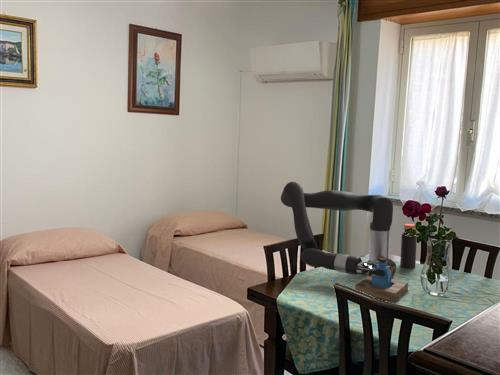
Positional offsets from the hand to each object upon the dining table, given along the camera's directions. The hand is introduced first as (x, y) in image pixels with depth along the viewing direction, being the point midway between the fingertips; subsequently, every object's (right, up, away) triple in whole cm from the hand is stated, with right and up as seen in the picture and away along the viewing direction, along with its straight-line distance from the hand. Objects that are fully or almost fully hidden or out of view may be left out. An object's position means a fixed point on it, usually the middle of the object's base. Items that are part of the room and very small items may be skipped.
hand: (387, 271), depth 194 cm
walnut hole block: (-2, -9, +2) cm, 9 cm away
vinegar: (+20, -5, +39) cm, 44 cm away
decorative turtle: (+5, -6, +24) cm, 25 cm away
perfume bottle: (-2, -7, +2) cm, 8 cm away
